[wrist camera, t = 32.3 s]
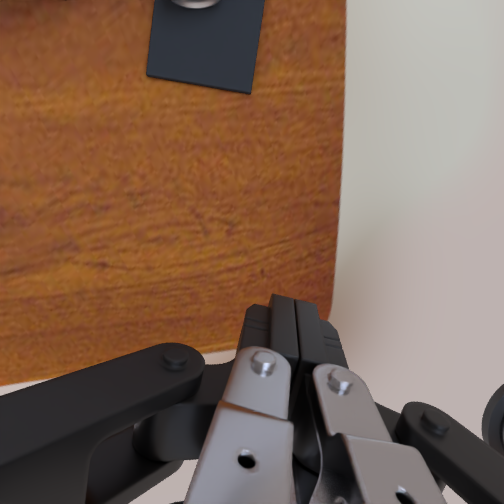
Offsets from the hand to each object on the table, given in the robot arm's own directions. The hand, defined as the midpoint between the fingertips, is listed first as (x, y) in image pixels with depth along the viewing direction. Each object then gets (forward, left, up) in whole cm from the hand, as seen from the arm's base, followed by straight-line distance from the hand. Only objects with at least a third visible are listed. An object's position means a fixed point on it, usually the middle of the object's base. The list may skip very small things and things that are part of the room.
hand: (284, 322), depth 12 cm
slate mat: (+8, -24, -25) cm, 36 cm away
